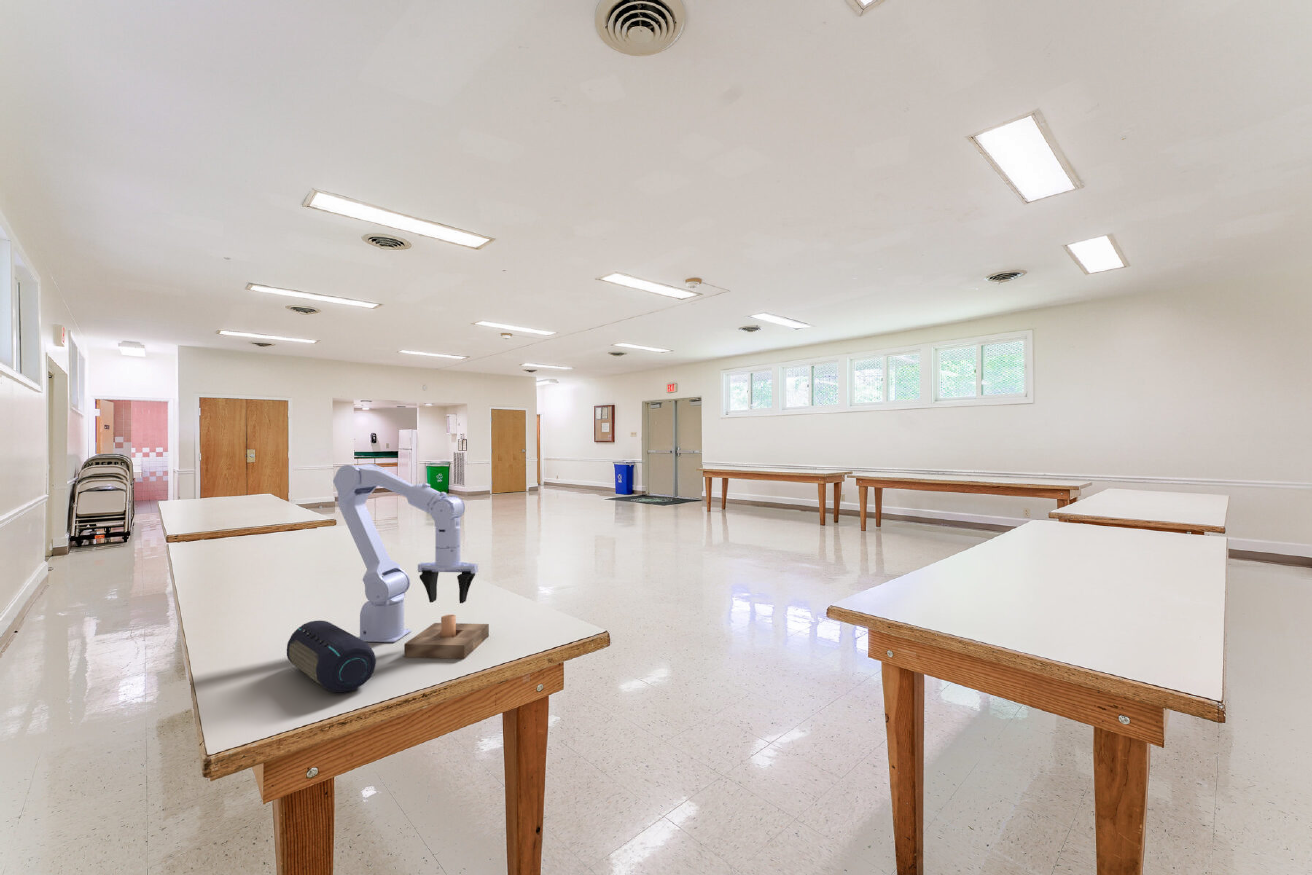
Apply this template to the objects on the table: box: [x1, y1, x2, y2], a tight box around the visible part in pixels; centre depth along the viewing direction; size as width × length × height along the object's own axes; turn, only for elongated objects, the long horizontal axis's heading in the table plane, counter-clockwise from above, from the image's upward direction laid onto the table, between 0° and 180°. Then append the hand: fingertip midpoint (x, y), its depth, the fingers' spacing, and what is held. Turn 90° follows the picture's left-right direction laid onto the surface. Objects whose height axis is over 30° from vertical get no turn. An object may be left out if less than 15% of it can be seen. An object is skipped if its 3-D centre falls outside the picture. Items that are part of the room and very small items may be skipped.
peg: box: [440, 614, 457, 638], centre depth 127 cm, size 3×3×7 cm
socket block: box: [403, 622, 490, 660], centre depth 127 cm, size 14×14×3 cm
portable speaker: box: [286, 620, 377, 693], centre depth 110 cm, size 25×10×10 cm, turn 51°
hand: (447, 601), depth 131 cm, fingers open, 7 cm apart
